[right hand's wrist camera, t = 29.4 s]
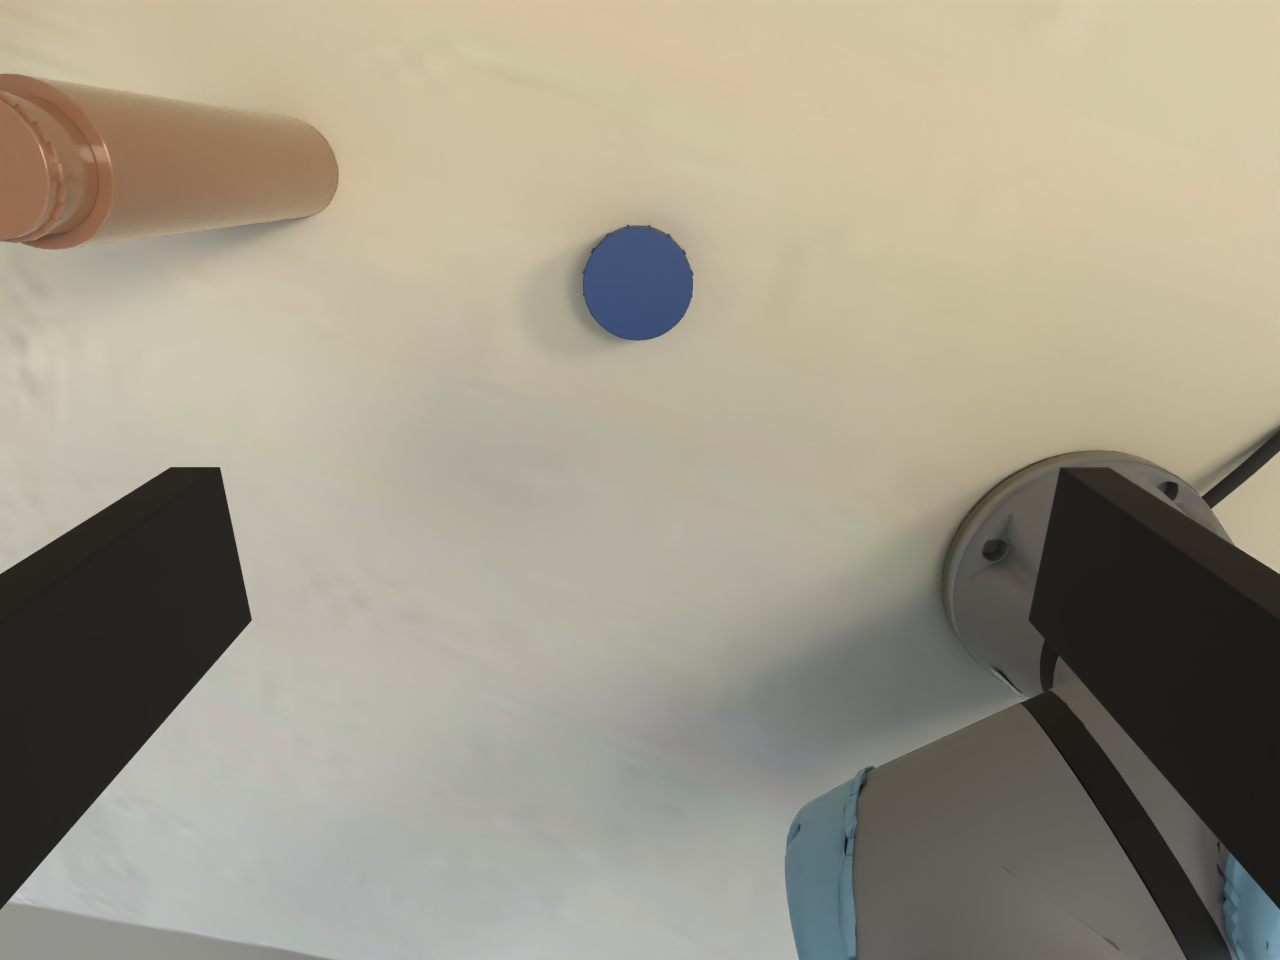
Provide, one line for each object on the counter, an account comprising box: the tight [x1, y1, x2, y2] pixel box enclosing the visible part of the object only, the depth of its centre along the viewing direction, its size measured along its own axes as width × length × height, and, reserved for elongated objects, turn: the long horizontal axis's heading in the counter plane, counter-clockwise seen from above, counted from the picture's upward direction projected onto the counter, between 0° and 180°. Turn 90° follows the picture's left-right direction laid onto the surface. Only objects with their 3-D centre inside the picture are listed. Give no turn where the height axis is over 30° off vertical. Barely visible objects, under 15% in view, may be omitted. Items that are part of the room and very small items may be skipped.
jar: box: [0, 74, 338, 250], centre depth 30 cm, size 5×5×20 cm
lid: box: [583, 225, 693, 340], centre depth 40 cm, size 6×6×2 cm
